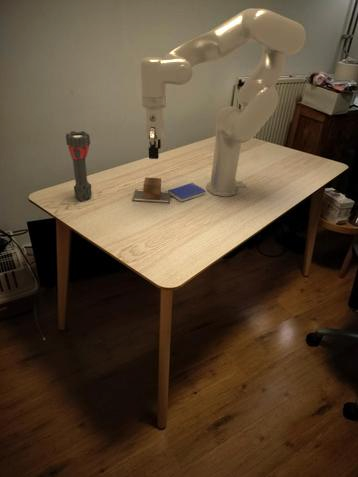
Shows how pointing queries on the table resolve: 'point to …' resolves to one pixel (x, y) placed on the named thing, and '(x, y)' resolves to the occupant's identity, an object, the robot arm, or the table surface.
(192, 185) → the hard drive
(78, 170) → the flashlight
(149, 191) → the cube
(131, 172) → the table surface
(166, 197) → the mat
